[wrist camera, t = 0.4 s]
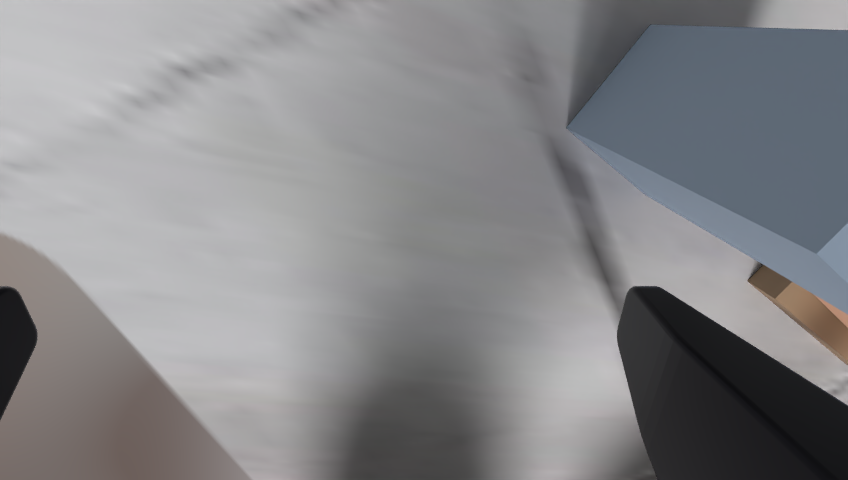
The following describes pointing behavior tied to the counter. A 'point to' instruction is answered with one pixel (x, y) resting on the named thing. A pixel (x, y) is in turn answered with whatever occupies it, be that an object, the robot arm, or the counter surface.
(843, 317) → the terracotta block
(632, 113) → the slate blue block
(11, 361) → the robot arm
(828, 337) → the walnut block
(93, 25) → the counter surface
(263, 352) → the counter surface
